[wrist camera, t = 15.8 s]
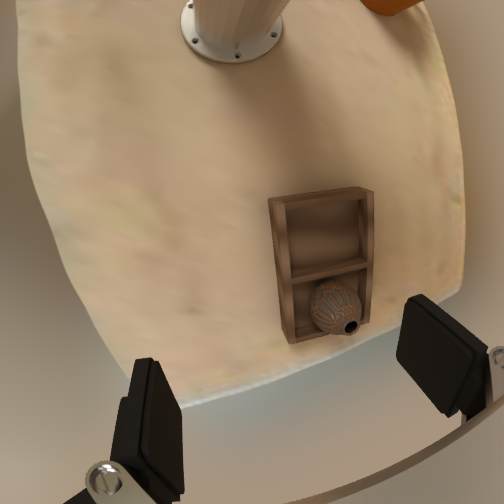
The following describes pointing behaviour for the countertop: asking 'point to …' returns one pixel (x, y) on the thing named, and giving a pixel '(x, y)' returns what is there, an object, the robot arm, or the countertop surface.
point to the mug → (389, 6)
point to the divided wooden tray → (321, 251)
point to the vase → (335, 308)
